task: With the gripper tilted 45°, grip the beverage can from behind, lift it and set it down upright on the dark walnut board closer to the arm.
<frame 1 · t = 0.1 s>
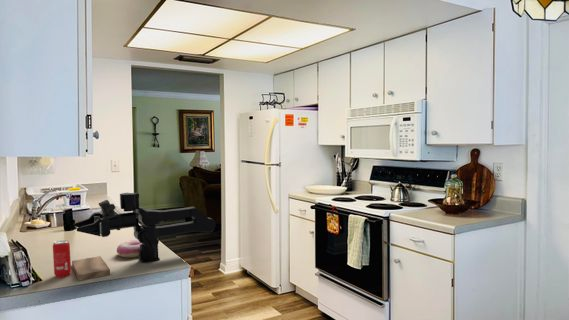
hand: (75, 227, 144), 17 cm above the counter, tool horizontal, fingers open, 9 cm apart
walnut board: (90, 269, 148), on the counter
beverage can: (62, 276, 142), on the counter
donut: (134, 255, 167), on the counter
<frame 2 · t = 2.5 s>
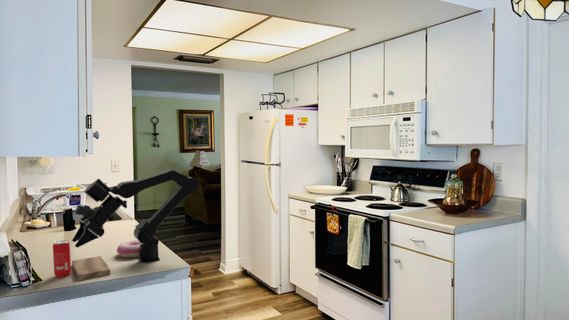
hand: (74, 244, 144), 11 cm above the counter, tool tilted 45°, fingers open, 9 cm apart
nothing on the counter moved.
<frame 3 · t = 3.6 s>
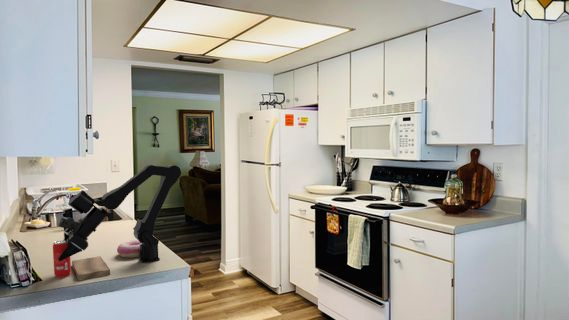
hand: (58, 257, 141), 7 cm above the counter, tool tilted 45°, fingers open, 9 cm apart
nothing on the counter moved.
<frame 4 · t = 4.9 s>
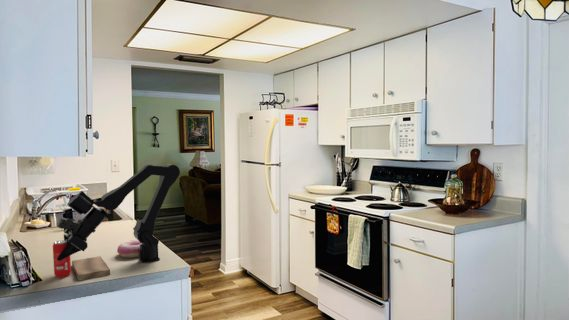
hand: (57, 258, 141), 7 cm above the counter, tool tilted 45°, fingers closed on beverage can, 5 cm apart
beverage can: (62, 276, 142), on the counter, touching gripper
everything else where it was.
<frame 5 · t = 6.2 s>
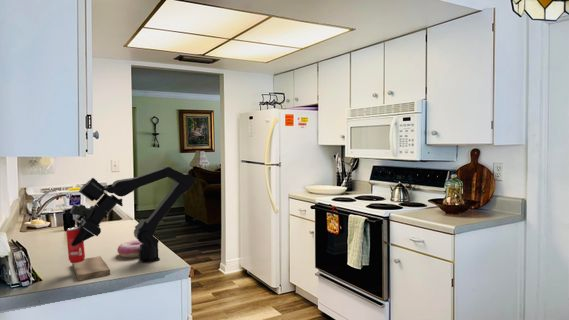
hand: (71, 243, 144), 11 cm above the counter, tool tilted 45°, fingers closed on beverage can, 5 cm apart
beverage can: (77, 261, 145), point 4 cm above the counter, touching gripper
everything else where it was.
when the fingers open (9 cm above the counter, at t = 7.7 s): beverage can stays where it is, resting on walnut board.
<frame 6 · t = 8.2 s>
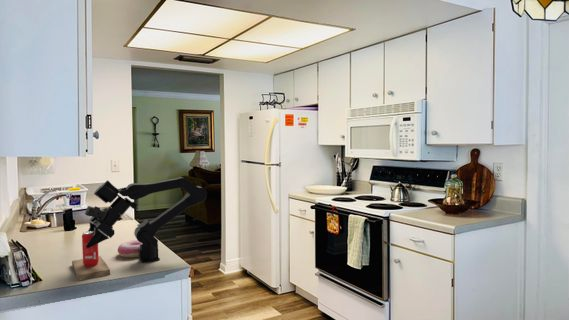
hand: (84, 244, 147), 10 cm above the counter, tool tilted 45°, fingers open, 9 cm apart
beverage can: (91, 265, 148), point 2 cm above the counter, touching walnut board
everything else where it was.
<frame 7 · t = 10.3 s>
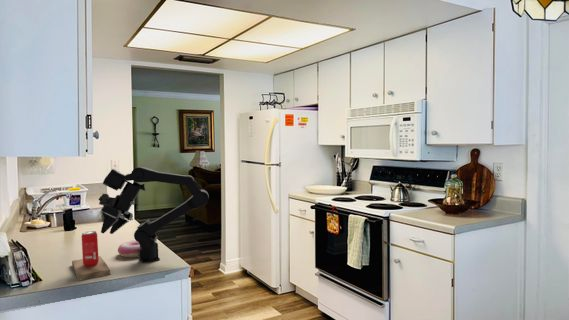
hand: (106, 233, 152), 12 cm above the counter, tool tilted 30°, fingers open, 9 cm apart
nothing on the counter moved.
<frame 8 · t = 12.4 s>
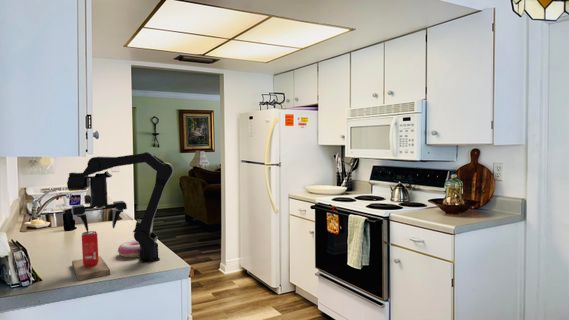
hand: (100, 229, 155), 13 cm above the counter, tool pointing down, fingers open, 9 cm apart
nothing on the counter moved.
at the end: beverage can inside the target area on the walnut board (0.3 cm from its centre), point 1.6 cm above the walnut board's base; beverage can tilted 0°; the gripper is holding nothing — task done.
